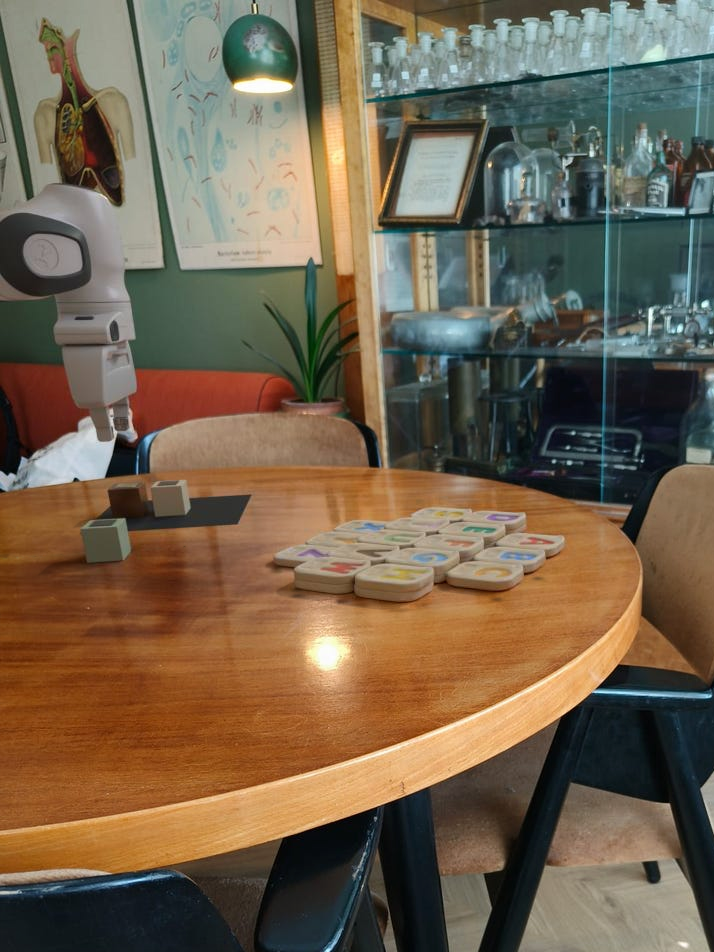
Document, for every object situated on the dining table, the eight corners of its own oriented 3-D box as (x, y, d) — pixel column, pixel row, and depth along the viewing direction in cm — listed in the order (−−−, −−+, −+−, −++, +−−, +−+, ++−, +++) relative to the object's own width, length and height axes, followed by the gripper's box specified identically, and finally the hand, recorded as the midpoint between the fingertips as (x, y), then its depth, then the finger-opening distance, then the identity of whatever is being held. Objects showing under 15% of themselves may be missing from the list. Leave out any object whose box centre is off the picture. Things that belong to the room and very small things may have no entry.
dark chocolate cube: (112, 519, 133) (107, 489, 131) (120, 512, 137) (114, 483, 135) (143, 517, 133) (138, 487, 131) (150, 510, 137) (144, 481, 136)
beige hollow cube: (155, 516, 133) (150, 486, 132) (161, 510, 138) (156, 480, 136) (185, 515, 134) (181, 485, 132) (190, 508, 138) (186, 479, 136)
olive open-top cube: (87, 563, 113) (79, 528, 111) (96, 553, 117) (89, 519, 115) (123, 560, 113) (116, 525, 112) (131, 551, 117) (125, 517, 116)
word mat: (79, 536, 125) (79, 533, 125) (114, 504, 144) (114, 502, 144) (237, 526, 128) (237, 524, 128) (252, 496, 146) (251, 494, 146)
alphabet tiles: (380, 514, 132) (379, 498, 131) (586, 534, 118) (587, 516, 118) (231, 579, 104) (228, 559, 103) (478, 614, 91) (477, 592, 90)
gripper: (92, 324, 123) (108, 425, 128) (48, 329, 104) (69, 448, 109) (139, 323, 124) (153, 424, 129) (104, 329, 105) (122, 446, 110)
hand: (114, 435), depth 119 cm, fingers open, 8 cm apart
